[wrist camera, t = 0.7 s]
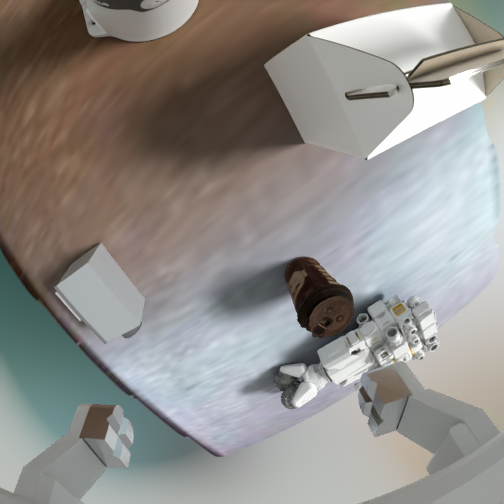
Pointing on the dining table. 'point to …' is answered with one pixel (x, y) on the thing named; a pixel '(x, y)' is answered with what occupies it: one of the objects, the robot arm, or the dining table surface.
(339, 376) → the spaceship
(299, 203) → the dining table surface
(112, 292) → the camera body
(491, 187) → the dining table surface
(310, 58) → the gable box
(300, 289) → the coffee cup
